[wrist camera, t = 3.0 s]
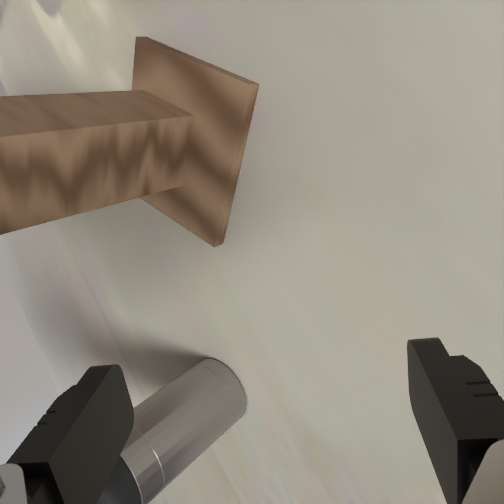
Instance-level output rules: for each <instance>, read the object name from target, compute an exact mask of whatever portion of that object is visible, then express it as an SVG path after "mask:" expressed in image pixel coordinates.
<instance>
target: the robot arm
mask: <svg viewBox="0 0 504 504" xmlns="http://www.w3.org/2000/svg"><path fill="white" fill-rule="evenodd" d="M407 354H408V378H409V394H410V401H411V406H412V410H413V413H414V416H415V419H416V421H417V424H418V427H419V429H420V432H421V435H422V438H423V440H424V443H425V446H426V448H427V451H428V454H429V456H430V459H431V462H432V464H433V467H434V470H435V472H436V475H437V478H438V480H439V483H440V486H441V488H442V491H443V494H444V496H445V499H446V502H447V504H504V401H503V399H502V398H501V396H499V395H498V392H497V390H496V389H495V388H494V386H493V385H492V384H491V383H490V380H489V379H488V377H487V376H486V374H485V373H484V371H483V370H482V368H481V367H480V366H479V365H477V364H476V363H474V362H473V361H471V360H470V359H468V358H467V357H465V356H464V355H460V356H449V354H448V352H447V351H446V349H445V347H444V346H443V344H442V342H441V341H440V339H439V338H425V339H413V340H408V343H407ZM245 410H246V397H245V393H244V390H243V388H242V386H241V384H240V382H239V380H238V379H237V377H236V376H235V375H234V374H233V372H232V371H231V370H230V369H229V368H228V367H226V366H225V365H224V364H222V363H221V362H219V361H217V360H214V359H204V360H201V361H200V362H199V363H197V364H196V365H194V366H193V367H192V368H190V369H189V370H187V371H186V372H184V373H183V374H182V375H180V376H179V377H177V378H176V379H174V380H173V381H171V382H170V383H169V384H167V385H166V386H164V387H163V388H162V389H160V390H159V391H157V392H156V393H154V394H153V395H152V396H150V397H149V398H147V399H146V400H145V401H143V402H142V403H140V404H139V405H137V406H136V407H135V408H133V406H132V402H131V399H130V396H129V392H128V389H127V385H126V382H125V379H124V375H123V372H122V369H121V367H120V366H119V365H117V364H115V365H103V366H92V367H90V368H89V369H88V370H87V371H86V373H85V374H84V375H83V377H82V378H81V379H80V381H79V382H78V383H77V385H73V386H72V387H70V388H69V389H68V390H67V391H65V392H64V393H63V394H61V395H60V396H59V397H58V398H57V399H56V400H55V401H54V403H53V404H52V405H51V406H50V408H49V409H48V410H47V412H46V414H44V415H43V416H42V418H41V419H40V420H39V422H38V423H37V426H35V427H34V428H33V429H32V431H31V432H30V433H29V434H28V436H27V437H26V438H25V439H24V441H23V442H22V443H21V445H20V446H19V447H18V449H17V450H16V451H15V452H14V454H13V455H12V456H11V458H10V459H9V460H8V461H7V463H6V464H2V465H0V504H148V503H149V502H150V501H151V500H152V499H154V498H155V497H156V496H157V495H158V494H159V493H160V492H161V491H162V490H163V489H164V488H165V487H166V486H167V485H168V484H169V483H171V482H172V481H173V480H174V479H175V478H176V477H177V476H178V475H179V474H180V473H181V472H182V471H183V470H185V469H186V468H187V467H188V466H189V465H190V464H191V463H192V462H193V461H194V460H195V459H196V458H198V457H199V456H200V455H201V454H202V453H203V452H204V451H205V450H206V449H207V448H208V447H209V446H210V445H212V444H213V443H214V442H215V441H216V440H217V439H218V438H219V437H220V436H221V435H223V434H224V433H225V432H226V431H227V430H228V429H229V428H230V427H231V426H232V425H233V424H234V423H235V422H237V421H238V420H239V419H240V418H241V417H242V416H243V414H244V413H245Z"/></svg>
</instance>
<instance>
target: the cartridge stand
mask: <svg viewBox="0 0 504 504" xmlns="http://www.w3.org/2000/svg"><path fill="white" fill-rule="evenodd" d="M258 87H259V84H257V83H255V82H253V81H250V80H248V79H245V78H243V77H241V76H238V75H236V74H233V73H231V72H229V71H226V70H224V69H222V68H219V67H217V66H214V65H212V64H210V63H207V62H205V61H202V60H200V59H198V58H195V57H193V56H191V55H188V54H186V53H183V52H181V51H179V50H176V49H174V48H172V47H169V46H167V45H164V44H162V43H160V42H157V41H155V40H152V39H150V38H148V37H136V43H135V57H134V70H133V83H132V91H113V92H91V93H69V94H46V95H24V96H2V97H0V235H1V234H5V233H8V232H12V231H16V230H20V229H23V228H27V227H31V226H34V225H38V224H42V223H46V222H49V221H53V220H57V219H60V218H64V217H68V216H72V215H75V214H79V213H83V212H86V211H90V210H94V209H98V208H101V207H105V206H109V205H112V204H116V203H120V202H124V201H127V200H131V199H135V198H138V197H140V198H141V199H143V200H144V201H146V202H147V203H149V204H150V205H152V206H153V207H155V208H156V209H158V210H159V211H161V212H162V213H164V214H165V215H167V216H168V217H170V218H171V219H173V220H174V221H176V222H177V223H179V224H180V225H182V226H183V227H184V228H186V229H187V230H189V231H190V232H192V233H193V234H195V235H196V236H198V237H199V238H201V239H202V240H204V241H205V242H207V243H208V244H210V245H211V246H213V247H216V246H219V245H221V244H223V241H224V237H225V233H226V228H227V224H228V219H229V215H230V211H231V206H232V202H233V197H234V193H235V189H236V184H237V180H238V175H239V171H240V167H241V162H242V158H243V153H244V149H245V145H246V140H247V136H248V131H249V127H250V122H251V118H252V114H253V109H254V105H255V100H256V96H257V92H258Z"/></svg>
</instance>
